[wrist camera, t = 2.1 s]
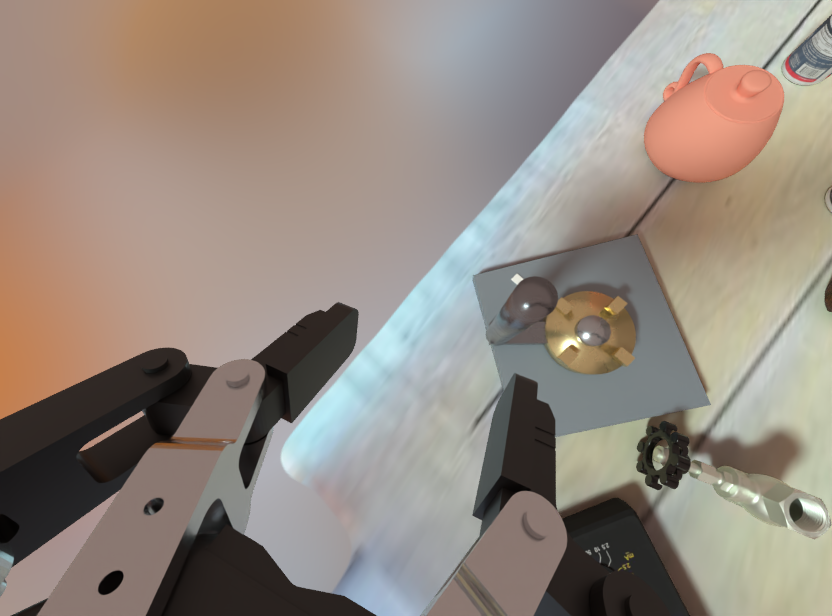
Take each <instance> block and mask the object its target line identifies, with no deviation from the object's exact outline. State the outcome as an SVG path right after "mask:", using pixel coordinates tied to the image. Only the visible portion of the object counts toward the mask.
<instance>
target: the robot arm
mask: <svg viewBox="0 0 832 616" xmlns="http://www.w3.org/2000/svg"><path fill="white" fill-rule="evenodd" d="M357 324H358V310H357V309H355V308H352V307H349V306H347V305H345V304H342V303H339V302H338V303H336V304H335V305H333V306H332V307H331V308H330V309H329V310H328V311H326V312H324V311H322V310H319V311H317V312H314V313H311V314H309V315H306V316H305V317H304V318H303V319H301V320H300V321H299V322H298V323H296V325H295V326H293V327H291V328H290V329H289V330H288V331H287V333H286V332H285V333H284V334H283V335H282V336H280V337H279V338H278V339H277V340H275V341H274V342H273V343H271V344H270V345H269V346H268V347H267V348H265V349H264V350H263V351H262V352H260V353H259V354H258V355H257V356H255V357H254V358H253V359H251V360H248V359H241V360H234V361H231V362H228V363H226V364H224V365H222V366H220V367H219V368H214V367H207V366H200V365H192V364H189V362H188V359H187V357H186V355H185V353H184V352H182V351H181V350H178V349H175V348H158V349H154V350H150V351H147V352H145V353H142V354H140V355H138V356H136V357H133V358H131V359H129V360H127V361H125V362H123V363H121V364H119V365H116V366H114V367H112V368H110V369H108V370H106V371H104V372H101V373H99V374H97V375H95V376H93V377H91V378H89V379H86V380H84V381H82V382H80V383H78V384H76V385H73V386H71V387H69V388H67V389H65V390H63V391H61V392H58V393H56V394H54V395H52V396H50V397H48V398H46V399H43V400H41V401H39V402H37V403H35V404H33V405H31V406H29V407H26V408H24V409H22V410H20V411H18V412H16V413H13V414H11V415H9V416H7V417H5V418H3V419H1V420H0V596H1V595H2V594H3V592H4V590H5V588H6V585H7V582H6V580H5V578H6V577H7V575H8V573H9V571H10V569H11V568H12V567H13V566H14V565H16V564H17V563H19V562H20V561H21V560H23V559H24V558H26V557H27V556H28V555H30V554H31V553H32V552H34V551H35V550H37V549H38V548H40V547H41V546H42V545H43V544H45V543H46V542H48V541H49V540H51V539H52V538H53V537H55V536H56V535H57V534H59V533H60V532H62V531H63V530H64V529H66V528H67V527H69V526H70V525H71V524H73V523H74V522H76V521H77V520H78V519H80V518H81V517H82V516H84V515H85V514H87V513H88V512H90V511H91V510H92V509H94V508H95V507H97V506H98V505H99V504H101V503H102V502H104V501H105V500H106V499H108V498H109V497H111V496H112V495H113V494H115V493H116V492H118V491H119V490H120V489H121V490H120V491H119V493H118V494H117V496H116V497H115V499H114V500H113V502H112V503H111V505H110V507H109V508H108V509H107V511H106V512H105V514H104V515H103V517H102V518H101V520H100V522H99V523H98V524H97V526H96V528H95V529H94V530H93V532H92V534H91V535H90V536H89V538H88V539H87V541H86V543H85V544H84V546H83V547H82V549H81V550H80V552H79V553H78V554H77V556H76V558H75V559H74V561H73V562H72V563H71V565H70V566H69V568H68V569H67V571H66V572H65V574H64V575H63V577H62V578H61V580H60V581H59V583H58V585H57V586H56V587H55V589H54V590H53V592H52V594H51V595H50V596H49V598H47V599H45V600H43V601H41V602H39V603H37V604H34V605H32V606H30V607H28V608H26V609H24V610H22V611H20V612H18V613H16V614H13V615H12V616H376V615H375V614H373V613H371V612H370V611H368V610H366V609H365V608H363V607H362V606H360V605H358V604H357V603H355V602H353V601H352V600H350V599H348V598H347V597H345V596H341V595H336V594H331V593H326V592H321V591H316V590H311V589H306V588H301V587H297V586H295V585H293V584H292V583H291V582H290V581H289V580H288V578H287V577H286V576H285V574H284V573H283V572H282V570H281V569H280V568H279V567H278V566H277V564H276V563H275V561H274V560H273V559H272V558H271V556H270V555H269V554H268V552H267V551H266V550H265V549H264V547H263V546H261V545H259V544H258V543H257V542H255V541H253V540H252V539H250V538H248V537H247V536H245V535H244V532H245V530H246V526H247V523H248V518H249V514H250V506H251V497H252V493H253V490H254V487H255V484H256V481H257V478H258V475H259V472H260V469H261V466H262V463H263V460H264V457H265V454H266V452H267V448H268V446H269V443H270V440H271V437H272V434H273V426H274V425H275V424H276V423H277V422H278V421H279V420H280V418H282V419H284V420H286V421H288V422H290V423H292V422H293V421H294V420H295V419H296V418H297V417H298V415H299V414H300V413H301V412H302V411H303V410H304V408H305V407H306V406H307V405H308V404H309V402H310V401H311V400H312V399H313V398H314V397H315V395H316V394H317V393H318V392H319V391H320V390H321V388H322V387H323V386H324V385H325V384H326V383H327V381H328V380H329V379H330V378H331V377H332V376H333V374H334V373H335V372H336V371H337V370H338V369H339V367H340V366H341V365H342V364H343V363H344V362H345V360H346V359H347V358H348V357H349V355H350V354H351V353H352V351H353V349H354V346H355V343H356V334H357ZM537 392H538V383H537V382H536V381H534V380H531V379H529V378H526V377H524V376H521V375H519V374H516V373H514V374H513V376H512V377H511V379H510V381H509V383H508V385H507V387H506V388H505V390H504V392H503V394H502V396H501V398H500V400H499V401H498V404H497V406H496V409H495V411H494V415H493V418H492V423H491V428H490V433H489V438H488V442H487V447H486V452H485V457H484V462H483V467H482V472H481V476H480V481H479V486H478V491H477V496H476V501H475V506H474V510H473V516H475V517H477V518H479V519H481V520H482V525H481V530H480V536H479V537H478V539H477V540H476V541H475V543H474V544H473V545H472V547H471V548H470V549H469V551H468V552H467V553H466V555H465V556H464V557H463V559H462V560H461V562H460V563H459V564H458V566H457V567H456V568H455V570H454V571H453V572H452V574H451V575H450V576H449V578H448V579H447V580H446V582H445V583H444V585H443V586H442V587H441V589H440V590H439V591H438V593H437V594H436V595H435V597H434V598H433V599H432V601H431V602H430V603H429V605H428V606H427V607H426V609H425V610H424V611H423V612H422V614H421V615H420V616H671V615H670V613H669V611H668V609H667V607H666V606H665V604H664V603H663V601H662V600H661V599H660V597H659V596H658V595H657V594H656V592H655V591H654V590H653V589H652V588H651V587H650V586H649V585H648V584H647V583H646V582H644V581H643V580H642V579H640V578H639V577H637V576H636V575H634V574H632V573H629V572H627V571H622V570H619V571H614V572H611V573H610V572H608V571H607V570H606V569H605V568H604V567H603V566H602V565H600V564H599V563H598V562H597V561H596V560H595V559H593V558H592V557H591V556H590V555H589V554H588V553H587V552H585V551H584V550H583V549H582V548H581V547H580V546H579V545H578V544H577V543H576V542H575V541H574V540H573V539H572V538H571V536H570V535H569V534H568V532H567V531H566V528H565V525H564V522H563V520H562V518H561V516H560V515H559V513H558V511H557V507H556V451H555V448H556V438H555V435H556V433H555V418H554V415H553V413H552V410H551V408H550V406H549V404H548V403H545V402H543V401H540V400H538V399H537ZM140 411H143V413H144V416H142V417H141V418H139V419H138V420H136V421H134V422H132V423H131V424H129V425H127V426H126V427H124V428H122V429H121V430H119V431H117V432H116V433H114V434H112V435H111V436H109V437H107V438H106V439H104V440H102V441H101V442H99V443H97V444H96V445H94V446H92V447H91V448H89V449H86V450H84V451H79V450H80V449H81V448H82V447H83V446H84V445H85V444H87V443H88V442H89V441H91V440H93V439H94V438H96V437H98V436H99V435H101V434H103V433H104V432H106V431H108V430H110V429H111V428H113V427H115V426H117V425H118V424H119V423H122V422H123V421H125V420H127V419H128V418H130V417H132V416H134V415H135V414H137V413H139V412H140Z"/></svg>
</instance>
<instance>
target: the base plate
mask: <svg viewBox="0 0 832 616" xmlns="http://www.w3.org/2000/svg"><path fill="white" fill-rule="evenodd" d="M532 276H537V277H542V278H545V279H547V280H548V281H550V282H551V283H552V284H553V285H554V287H555V288H556V290H557V293H558V300H559V299H560V298H561V297H562V298H564V297H566V296H568V295H570V294H572V293H576V292H581V291H593V292H598V293H602V294H605V295H607V296H609V297H611V298H615V297H617V296H619V297H620V298H621V299H623V300H624V301H625V302H627V303H628V304H627V305H626V306H625V307H624V308H625V309H626V310H627V312H628V313H629V315H630V317H631V319H632V320H633V323H634V326H635V331H636V343H635V347H634V350H633V353H632V354H631V355H632V356H634V357H635V359H634V360H633V361H632V362H631V363H630V364H629V365H628V366H627V367H623V366H621V367H619V368H618V369H616V370H614V371H612V372H609V373H605V374H592V375H587V374H578V373H574V372H571V371H569V370H567V369H565V368H563V367H561V366H560V365H559V364H557V363H556V362H555V361H554V360H553V359H552V358H551V356H550V355H549V354H548V352H547V350H546V349H545V346H544V345H500V346H495V345H491V348H492V351H493V355H494V359H495V362H496V366H497V369H498V373H499V376H500V380H501V384H502V387H503V391H504V390H505V388H506V387H507V385H508V383H509V381H510V379H511V377H512V376H513V374H514V373H516V374H519V375H521V376H524V377H526V378H529V379H531V380H534V381H536V382H537V383H538V392H537V399H538V400H540V401H543V402H545V403H548V404H549V406H550V408H551V410H552V413H553V415H554V418H555V433H556V435H555V437H558V436H562V435H567V434H572V433H577V432H582V431H587V430H591V429H596V428H601V427H606V426H611V425H616V424H620V423H625V422H630V421H635V420H640V419H645V418H649V417H654V416H659V415H664V414H669V413H674V412H678V411H683V410H688V409H693V408H698V407H702V406H707V405H711V404H710V402H709V399H708V397H707V395H706V392H705V390H704V388H703V385H702V383H701V381H700V378H699V376H698V374H697V371H696V369H695V367H694V364H693V362H692V360H691V358H690V355H689V353H688V351H687V348H686V346H685V344H684V341H683V339H682V337H681V334H680V332H679V330H678V327H677V325H676V323H675V320H674V318H673V316H672V313H671V311H670V309H669V306H668V304H667V302H666V300H665V297H664V295H663V293H662V290H661V288H660V286H659V283H658V281H657V279H656V276H655V274H654V272H653V269H652V267H651V265H650V262H649V260H648V258H647V255H646V253H645V251H644V248H643V246H642V244H641V242H640V239H639V237H638V235H637V234H636V235H632V236H628V237H624V238H620V239H616V240H612V241H608V242H604V243H600V244H596V245H592V246H588V247H584V248H580V249H576V250H572V251H568V252H564V253H560V254H556V255H552V256H549V257H545V258H541V259H537V260H533V261H529V262H525V263H521V264H517V265H513V266H509V267H505V268H501V269H497V270H493V271H489V272H485V273H481V274H477V275H473V283H474V287H475V290H476V294H477V298H478V301H479V305H480V308H481V312H482V316H483V319H484V323H485V326H486V330H487V329H488V324H489V322H492V321H493V320H494V318H495V317H496V315H497V314H498V312H499V311H500V310H501V308H502V307H503V305H504V304H505V302H506V301H507V299H508V298H509V296H510V295H511V293H512V292H513V290H514V289H515V287H516V286H517V285H518V283H519V282H520V281H522V280H523V279H525V278H528V277H532ZM543 319H544V318H543ZM543 319H541V320H540V321H538V322H543Z"/></svg>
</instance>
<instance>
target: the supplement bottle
mask: <svg viewBox="0 0 832 616" xmlns="http://www.w3.org/2000/svg"><path fill="white" fill-rule="evenodd" d="M825 202H826V205H827V207H828V209H829V211H830V212H831V213H832V187H831V188H830V189H829V190H828V191H827V193H826V196H825Z"/></svg>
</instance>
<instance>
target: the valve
mask: <svg viewBox="0 0 832 616" xmlns="http://www.w3.org/2000/svg"><path fill="white" fill-rule="evenodd" d="M659 428H660V429H658V428H656V427H653V426H648V427H647V429H646V434H647V435H648V436H649V438H648V440H647V442H646V443H644V442H639V443H638V446H637V450H638V451H639V452H641V453H643V460H642V461H639V462H638V463H637V466H636V468H637V471H638V472H640V473H643V474H645V475H647V476H646V478H645V483H646V485H647V486H649V487H652V488H654V489H656V490H660V489H661V488H662V485H660V484H658V479H660V482H661V484H663V485H665V486H668V487H670V488H672V489H676V488H677V487H678V485H679V480H681V478H682V474H686V473H687V472H689V474H690V476H691V477H694V478H696V479H698V480H701V481H703V482H705V483H708V484H710V485H713V487H714V489H715V491H716V493H717V494H718V495H719V496H721V497H723V498H724V499H725V500H728V501H730V502H732V503H734V504H736V505H739V506H741V507H743V508H744V509H745V510H746V511H747V512H748V513H750V514H751V515H752V516H754V517H755V518H757V519H759V520H761V521H763V522H765V523H767V524H770V525H774V526H779V527H786V528H789V529H791V530H793V531H796V532H798V533H800V534H803V535H805V536H807V537H810V538H812V539H816V538H818V537H820V536H821V535H823V534H824V533H825V532H826V531H827V530H828V529H829V528H830V526H831V519H830V516H829V513H828V511H827V508H826V506H825V504H824V503H823V501H822V499H820V498H817V497H815V496H812V495H810V494H807V493H805V492H802V491H800V490H797V489H794V488H791V487H790V486H789V485H787V484H786V483H784V482H782V481H780V480H778V479H776V478H774V477H771V476H768V475H763V474H749V473H746V472H743V471H740V470H737V469H734V468H732V467H729V466H721V467H719V468H718V469H716V468H714V467H712V466H710V465H707V464H705V463H702V462H700V461H697V460H693V461H692V462H691V461H690V458H689V456H688V447H687V446H688V445H689V438H688V437H687V436H685V435H682V434H680V433H677V432H673V433H672V434H671V431H672V430H674V431H677V427H676V425H674V424H671V423H669V422H666V421H663V422H661V424H660V426H659ZM663 439H666V441H667V442H668V445H669V448H664V447H662V446H659V445H658V446H657V447H656V448H655V446H656V444H657V443H658V442H659V441H661V440H663ZM679 447H680V448H679ZM654 448H655V449H654ZM652 454H653V458H654V461H657V462H659V463H661V464H662V465H663V466H664V467H663V468H662V469H660V470H657V471H656V470H655V468H654V466H653V463H652ZM672 474H673V475H672Z"/></svg>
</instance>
